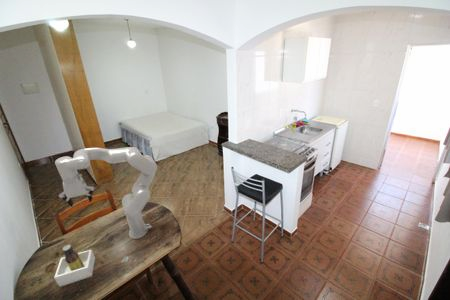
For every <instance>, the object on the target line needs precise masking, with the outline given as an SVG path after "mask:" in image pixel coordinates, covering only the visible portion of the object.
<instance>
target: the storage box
mask: <svg viewBox="0 0 450 300" xmlns="http://www.w3.org/2000/svg"><path fill="white" fill-rule="evenodd" d="M77 253H78V255H79V256H80V258H81V260H82V262H83V264H84V267H83V268H80V269H77V270H73V271H71V270H70V268H69V266H68V264H67V263H66V261H65V256H63V257H60V259H59V263H58V266H57V268H56V271H55V274H54V277H53V278H54V280H55V282H56V284H57V286H58V287H59V288H61V287H64V286H67V285H70V284H74V283H76V282H80V281H82V280H85V279H86V280H87V279H89V278H92V277H93V274H94V273H93V272H94V267H95V263H96V262H95V261H96V257H95V254H94V252H93V249H88V250H85V251H80V252H77Z"/></svg>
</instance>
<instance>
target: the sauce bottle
mask: <svg viewBox="0 0 450 300" xmlns="http://www.w3.org/2000/svg"><path fill="white" fill-rule="evenodd" d="M62 252H63V253H64V255H65V256H64V257H65V261H66V263H67V264H68V266H69V268H70V270H71V271H73V270H77V269H80V268H83V267H84V264H83V262H82V260H81V258H80V256H79V255H78V253H79V252H77V251H76V250H74V249H73V247H72V245H71V244H67V245H64V246H63V248H62Z"/></svg>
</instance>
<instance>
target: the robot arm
mask: <svg viewBox="0 0 450 300" xmlns="http://www.w3.org/2000/svg"><path fill="white" fill-rule="evenodd" d="M92 160H93V161H97V160H98V161H99V160H100V161H103V162H106V163H109V164H118V163H124V162H125V163H126V162H127V163H128V164H129V165H130V166H131V167H132V168H135V169H136V170H138V171H139V172H141V173H140V174H139V176H138V178H137V179H136V180H135V182H134V184H133V186H132V187H131V192H132V193H127V194H125V195H124V196H123V197H122V199H121V204H122V207H123V210H124V213H125V218H126V220H127V224H128V227H129V231H128V236H129V237H130V238H131V239H133V240H136V239H137V240H139V239H141V238H142V237H144V236H145V235H147V233H148V230H149V229H151V228H153V227H152V225H151V224H150V223H145V222H144V218H143V215H142V210H143V209H144V208H145V207H146V205H147V204H148V202H149V200H150V197H151V191H150V189H149V188H150V185H151V183H152V182H153V180H154V179H155V176H156V173H157V170H158V164H157V163H156V162H155V160H154V159H153V157H152V156H151V155H148V154H144V155H143V154H142V153H141V151H140V149H138V148H137V147H135V146H129V147H128V146H127V147H119V148H110V149H109V148H101V147H89V148H88V147H87V148H81V149H78V150H76V151H75V152H74V153H73V157H71V156H67V155H66V156H62V157H58V158H57V159H56V160H55V161H54V164H55V166H56V168H57V169H56V170H57V171H58V174H59V175H60V177H61V180H62V187H63V191H62V192H60V193H59V194H58V197H59V198H60V199H61V200H63V201H65V202H67V203H68V205H69V206H70V207H73V205H74V202H73V199H72V198H76V197H80V196H84V195H86V196H87V198H88V201H89V203H92V200H93V195H92V194H93V192H94V190H95V187H94V186H90V185H87V184H86V181H85V180H84V178H83V177H82V176H83V175H82V173H79V172H78V170H85V169H87V168H89V166H90V165H91V161H92Z"/></svg>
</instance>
